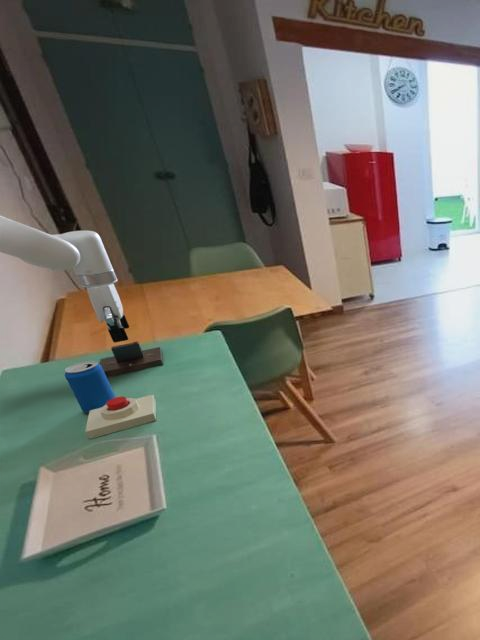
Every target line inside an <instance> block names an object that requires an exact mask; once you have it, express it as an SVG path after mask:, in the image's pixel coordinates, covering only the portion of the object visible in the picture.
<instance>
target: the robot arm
mask: <svg viewBox="0 0 480 640" xmlns="http://www.w3.org/2000/svg"><path fill="white" fill-rule="evenodd" d="M0 253H2V254H6V255H8V256H11V257H14V258H18V259H20V260H21V261H23V262H24V263H27V264H29V265H32V266H36V267H40V268H45V269H48V270H50V271H51V270H52V271H56V272H57V271H59V272H61V271H68V270H71V269H72V270H73V272H74V275H75V276H76V279H77V281H78V284H79V286H80V287H81V288H86V292H87V294H88V298H89V300H90V303H91V305H92V308H93V310H94V313H95V315H96V318H97V320H98V322H99V323H103V322H105V324H106V327H107V331H108V334H109V336H110V338H111V340H112V342H113V343H114V344H115V343H120V342H125V341H128V340H129V336H128V334H127V332H126V330H127V329H129V328H130V324H129V323H128V320H127V318H126V315H125V314H124V307H123V304H122V301H121V298H120V295H119V293H118V291H117V288H116V286H115V284H116V283H118V278H117V274H116V272H115V270H114V268H113V265H112V263H111V260H110V258H109V255H108V252H107V251H106V248H105V245H104V243H103V240H102V237H100V235H99V233H97V232H96V231H94V230H88V229H87V230H74V231H68V232H63V233H58V234H57V233H56V234H50V233H48V232H44V231H43V230H39V229H37V228H35V227H32V226H30V225H27V224H24V223H22V222H19V221H16V220H13V219H10V218H8V217H5V216H3V215H0Z"/></svg>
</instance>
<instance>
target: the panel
mask: <svg viewBox="0 0 480 640" xmlns="http://www.w3.org/2000/svg"><path fill="white" fill-rule="evenodd" d="M142 352H143V354H144V357H142V358H137V359H133V360H128V361H123V362H118V363H117V361H116V359H115V356H114V355H112V356H108V357H104V358H100V359H99V363H98V364H99V365H101V366H102V369H103V371H104V373H105V375H106V377H107V378H113V377H116V376H120V375H125V374H129V373H134V372H138V371H143V370H147V369H152V368H156V367H160V366H164V357H163V350H162V348H161V346H158V347H152V348H147V349H142Z"/></svg>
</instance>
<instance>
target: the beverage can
mask: <svg viewBox="0 0 480 640" xmlns="http://www.w3.org/2000/svg"><path fill="white" fill-rule="evenodd" d="M99 364H100V363H98V361H96V360H85V361H80V362H76V363H73V364H71V365H69V366H67V367H66V368H65V369H64V371H65V373H64V377H65V380H66V381H67V383H68V386H69V388H70V389H71V391H72V393H73V395H74V397H75V399H76V402H77V403H78V405H79V408H80V409H81V411H82V413H85V414H89V411H90V410H93V409H97V408H101V407H103V406H105V405H106V403H107V402H108V401H109V400H111V399H113V398H116V397H117V396H116V395H115V393H114V391H113V388H112V386H111V384H110V382H109V380H108V377H106V375H105V373H104V371H103V369H102V366H101V365H99Z"/></svg>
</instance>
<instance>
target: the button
mask: <svg viewBox="0 0 480 640" xmlns="http://www.w3.org/2000/svg"><path fill="white" fill-rule="evenodd" d="M115 397H116V398H113V399H111V400H109V401H108V402H107V403H106V404H107V406H108V409H109V410H110V411H116V410H119V409H122V408H125V407H127V406H128V405H129V403H128V401H127V398H128V397H126V396H115Z"/></svg>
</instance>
